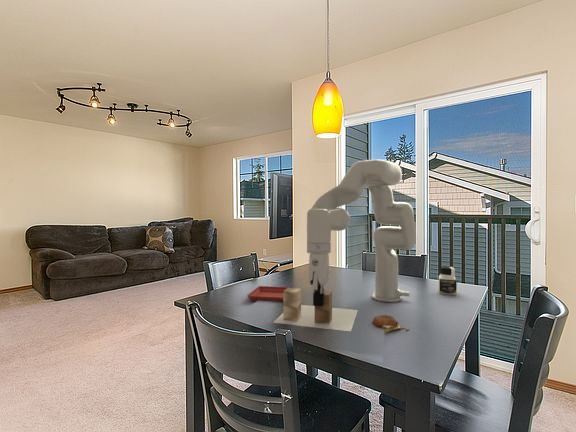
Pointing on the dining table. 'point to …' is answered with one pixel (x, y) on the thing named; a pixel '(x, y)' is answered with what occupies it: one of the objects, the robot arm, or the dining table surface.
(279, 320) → the slab
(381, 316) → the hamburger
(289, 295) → the maple block
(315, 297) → the robot arm
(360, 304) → the dining table surface
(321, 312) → the walnut block
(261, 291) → the red tray
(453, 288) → the medicine bottle
